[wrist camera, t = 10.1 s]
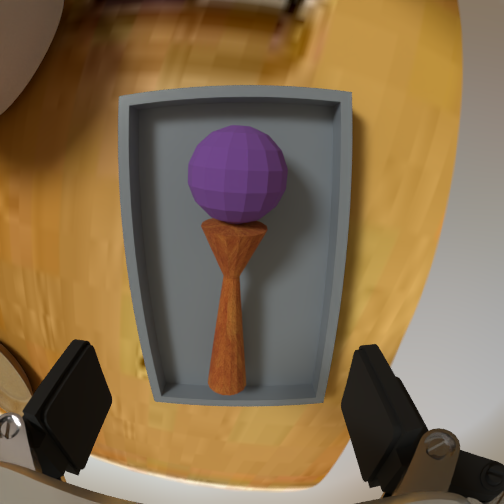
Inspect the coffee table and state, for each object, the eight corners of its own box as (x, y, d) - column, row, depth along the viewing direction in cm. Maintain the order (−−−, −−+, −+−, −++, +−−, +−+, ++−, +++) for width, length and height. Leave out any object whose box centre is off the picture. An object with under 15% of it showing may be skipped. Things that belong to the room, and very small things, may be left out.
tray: (132, 102, 19) (119, 96, 17) (340, 98, 20) (351, 92, 17) (160, 383, 27) (154, 401, 25) (318, 384, 27) (323, 402, 25)
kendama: (182, 397, 22) (173, 122, 14) (204, 353, 27) (209, 126, 20) (255, 413, 21) (288, 127, 14) (266, 365, 26) (293, 131, 19)
